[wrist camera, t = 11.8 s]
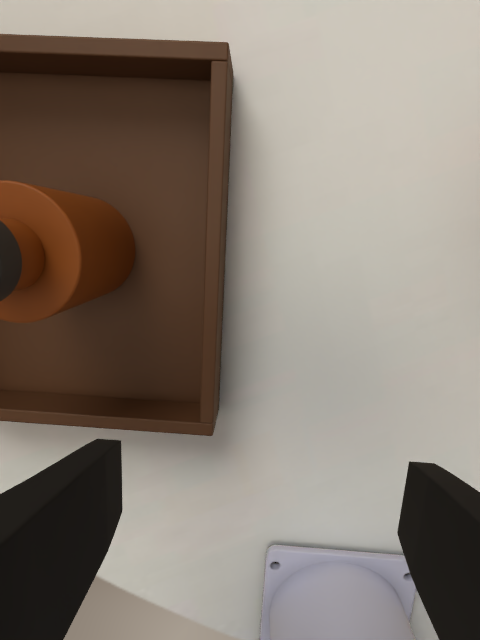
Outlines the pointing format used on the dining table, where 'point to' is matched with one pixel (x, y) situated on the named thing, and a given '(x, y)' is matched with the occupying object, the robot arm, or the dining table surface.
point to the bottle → (58, 251)
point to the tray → (142, 217)
